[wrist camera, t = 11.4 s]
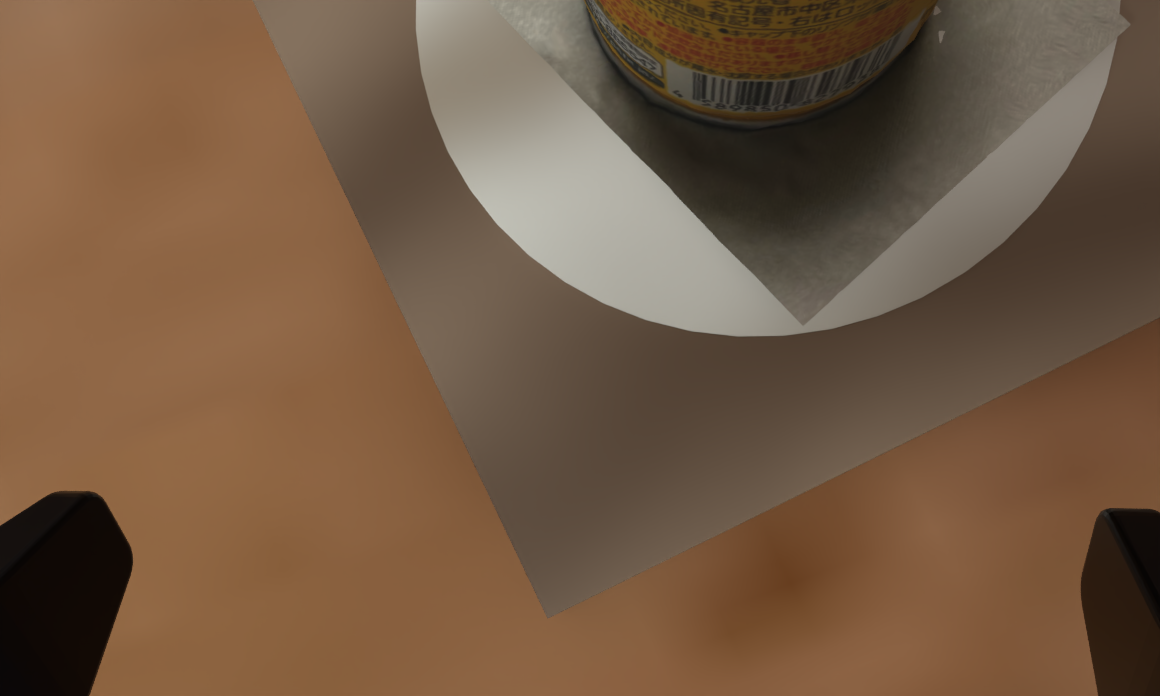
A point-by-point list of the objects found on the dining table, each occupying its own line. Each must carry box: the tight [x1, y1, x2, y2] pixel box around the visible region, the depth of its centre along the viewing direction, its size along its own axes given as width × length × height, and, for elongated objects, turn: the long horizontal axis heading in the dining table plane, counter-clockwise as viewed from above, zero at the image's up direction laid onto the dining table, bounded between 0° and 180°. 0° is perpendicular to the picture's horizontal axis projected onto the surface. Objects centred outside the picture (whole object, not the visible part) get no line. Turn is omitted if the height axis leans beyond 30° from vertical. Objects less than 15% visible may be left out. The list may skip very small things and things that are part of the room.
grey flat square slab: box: [253, 0, 1160, 618], centre depth 18 cm, size 16×16×1 cm
